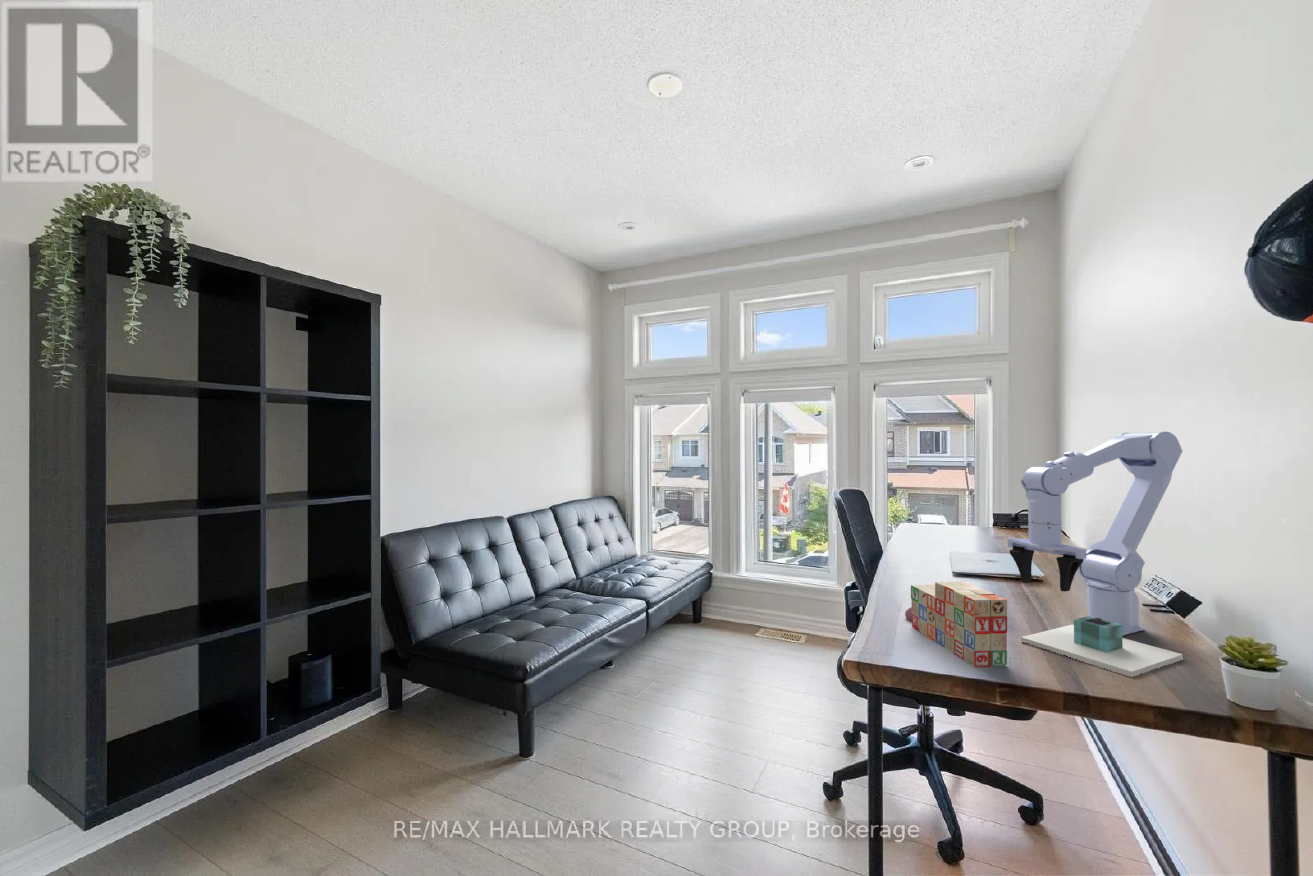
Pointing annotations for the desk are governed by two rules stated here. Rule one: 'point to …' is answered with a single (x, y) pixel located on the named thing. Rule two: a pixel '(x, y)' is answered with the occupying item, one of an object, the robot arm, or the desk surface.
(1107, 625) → the teal hollow square tube
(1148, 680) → the desk surface
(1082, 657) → the white square slab
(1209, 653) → the desk surface
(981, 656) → the stack of blocks
